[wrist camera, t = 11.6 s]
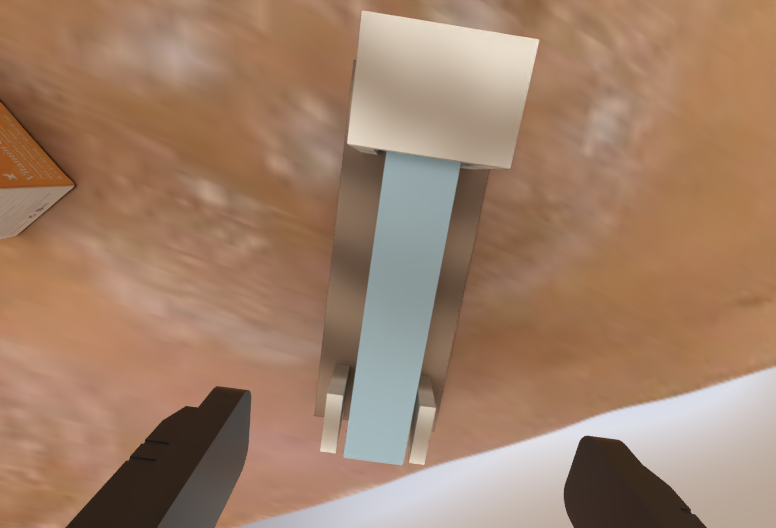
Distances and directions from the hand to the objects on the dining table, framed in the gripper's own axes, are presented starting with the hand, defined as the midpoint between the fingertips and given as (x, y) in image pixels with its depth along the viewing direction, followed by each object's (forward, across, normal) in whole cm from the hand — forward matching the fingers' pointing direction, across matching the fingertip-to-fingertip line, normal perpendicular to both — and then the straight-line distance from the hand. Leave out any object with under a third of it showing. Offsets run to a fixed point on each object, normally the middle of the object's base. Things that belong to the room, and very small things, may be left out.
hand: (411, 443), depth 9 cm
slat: (+16, 0, +1) cm, 16 cm away
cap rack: (+17, 0, 0) cm, 17 cm away
